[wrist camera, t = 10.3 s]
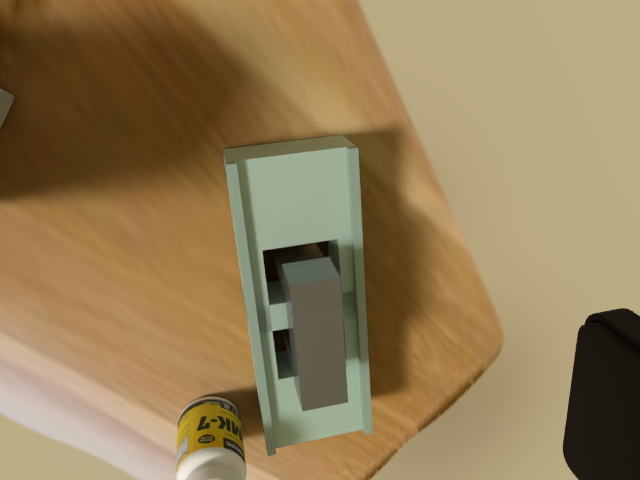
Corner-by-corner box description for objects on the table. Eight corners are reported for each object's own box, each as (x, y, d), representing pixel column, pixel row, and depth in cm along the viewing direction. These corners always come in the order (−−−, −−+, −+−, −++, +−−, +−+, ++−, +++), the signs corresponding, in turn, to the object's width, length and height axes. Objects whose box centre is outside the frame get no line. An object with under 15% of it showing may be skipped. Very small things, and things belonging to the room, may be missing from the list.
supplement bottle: (249, 402, 44) (262, 483, 37) (225, 449, 45) (233, 537, 38) (191, 387, 43) (192, 468, 35) (168, 435, 44) (163, 524, 36)
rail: (222, 149, 37) (226, 164, 33) (341, 134, 38) (358, 147, 34) (261, 419, 45) (267, 455, 41) (357, 399, 46) (372, 433, 43)
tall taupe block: (270, 235, 40) (289, 285, 32) (312, 229, 40) (340, 276, 33) (283, 344, 43) (302, 411, 36) (321, 337, 44) (348, 402, 36)
